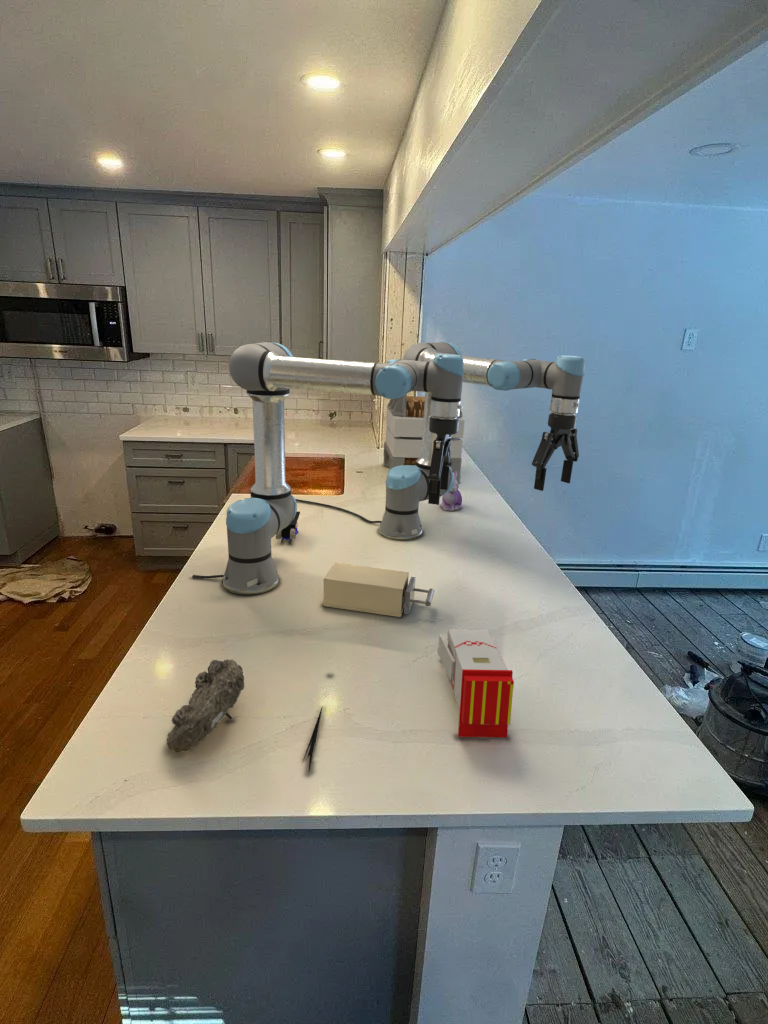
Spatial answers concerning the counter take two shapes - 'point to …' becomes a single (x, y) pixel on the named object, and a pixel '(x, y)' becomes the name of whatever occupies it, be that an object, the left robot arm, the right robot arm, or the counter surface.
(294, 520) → the figurine character
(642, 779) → the counter surface
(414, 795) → the counter surface
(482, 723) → the toy
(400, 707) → the counter surface
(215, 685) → the fossil
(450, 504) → the figurine
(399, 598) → the cabinet
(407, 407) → the transformer
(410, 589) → the drawer
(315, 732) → the feather
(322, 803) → the counter surface
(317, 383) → the left robot arm
